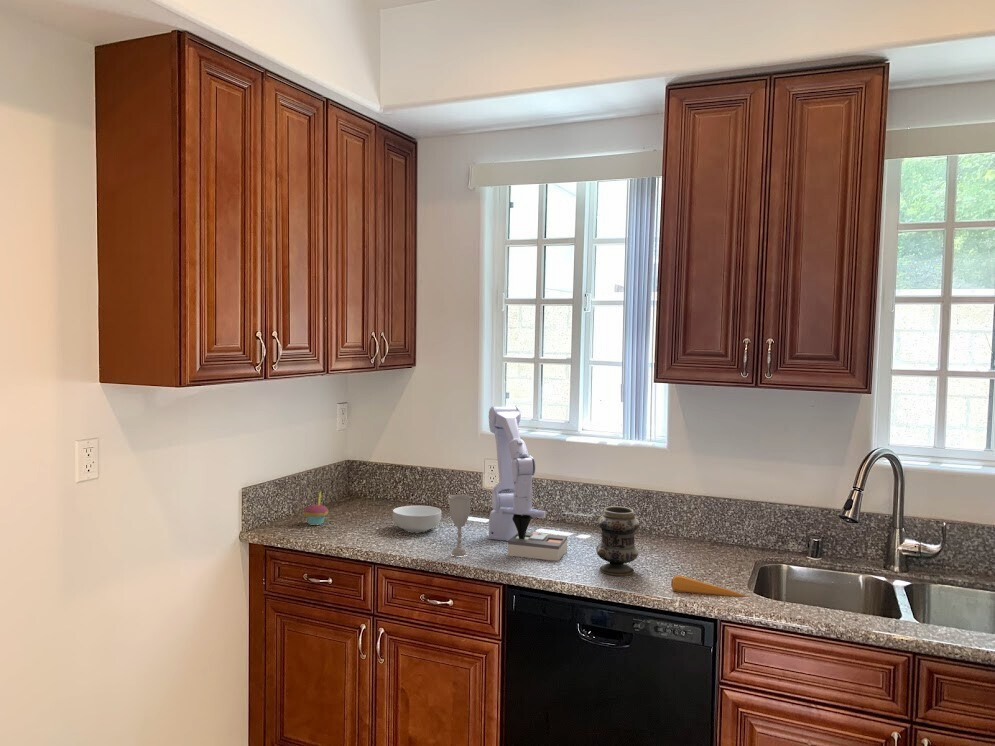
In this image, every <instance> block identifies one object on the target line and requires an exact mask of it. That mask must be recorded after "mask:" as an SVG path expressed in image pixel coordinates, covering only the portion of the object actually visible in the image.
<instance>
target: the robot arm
mask: <svg viewBox="0 0 995 746" xmlns="http://www.w3.org/2000/svg"><path fill="white" fill-rule="evenodd" d="M520 422H521V409H520V408H519V406H517V405H514V406H493V405H492V406H490V408H489V411H488V424H489V431H490V433H492V434H494V437H495V444H496V445H495V446H496V447H495V448H496V456H497V457H496V458H497V469H498V479H499V480H498V481H499V482H498V483H497V484H496V485H494V487H493V488H492V490H491V495H492V496H491V506H492V509H493V510H491V511H490V513H489V519H488V537H487V538H488V539H489V540H496V541H497V540H499V541H507V542H508V540H509V539H511V538H512V537H513V536H514V535H515V534H516V533H517V532H518V536H519V539H524V538H525V534H526V532H527V531H528V527H529V525H530V522H531V520H532V518H540V519H545V518H546V516H547V515H546V514H547V513H546V510H540V509H535V508H532V507H533V504H532V503H533V502H532V501H533V476H534V475H535V473H536V461H535V458H534V456H532V455H531V454H529V451H528V447H527V444H526V442H525V440H523V439H522V438H521V435H520V431H519V430H520V429H519V425H520Z"/></svg>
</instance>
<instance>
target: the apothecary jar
mask: <svg viewBox="0 0 995 746" xmlns="http://www.w3.org/2000/svg"><path fill="white" fill-rule="evenodd" d="M597 524H598V527H599V528H600V529H601V538H600V542H599V543H598V545H597V546H596V548H595V551H596V554H597V555H598V557H599V558H601V559H602V560H603V561H605V562H608V563H606V564H603V565H601V566H600V567H599V571H600V572H601V573H603V574H605V575H610V576H614V577H615V576H616V577H621V576H622V577H624V576H631V575H633V574H634V571H635V570H634V568H632V567H631V566H629V565H628V563H631V562H633V561H635V560H636V559H637V558H638V556H639V549H638V548H637V546H636V545H635V535H636V534H635V533H636V531H637V530H638V529H639V527H640V521H639V519H638V518H637V517H636V516H635V511H634V509H632V508H631V507H626V506H620V505H619V506H618V505H613V506H612V505H610V506H606V507H604V510H603V513H602V515H600V516H599V518H598V520H597Z"/></svg>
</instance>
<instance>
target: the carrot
mask: <svg viewBox="0 0 995 746" xmlns="http://www.w3.org/2000/svg"><path fill="white" fill-rule="evenodd" d="M670 586H671V589H672V591H673V592H676V591H679V592H678V593H685V592H693V593H692V594H698V593H705V594H704V595H711V594H716V595H715V596H725V595H726V596H727V597H728V596H729V597H741V598H742V597H746V598H749V596H747V595H745V594H742V593H740V592H739V593H738V592H736V591H733V590H731V589H727V588H724V587H721V586H717V585H715V584H711V583H707V582H703V581H700V580H697V579H694V578H690V577H687V576H684V575H683V576H682V575H679V574H678V575H674V576H673V577H672V579H671V585H670ZM726 596H725V597H726Z"/></svg>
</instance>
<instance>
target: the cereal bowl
mask: <svg viewBox="0 0 995 746" xmlns="http://www.w3.org/2000/svg"><path fill="white" fill-rule="evenodd" d="M441 518H442V510H441V508H438V507H435V506H431V505H404V506H400V507H399V506H398V507H395V508H394V509H393V510H392V521H393V522H394V524H395V525H396V526H397V527H398V528H400V529H402V530H404V531H405V530H406V531H409V532H423V533H426V532H428V531H429V530H430V529H433V528H435V527H437V526H438V525H439V523H440V522H441ZM427 530H428V531H427ZM406 531H405V532H406ZM425 531H426V532H425ZM409 532H408V533H409Z"/></svg>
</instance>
